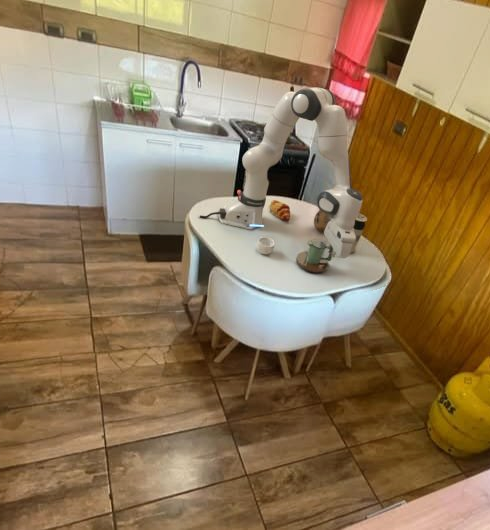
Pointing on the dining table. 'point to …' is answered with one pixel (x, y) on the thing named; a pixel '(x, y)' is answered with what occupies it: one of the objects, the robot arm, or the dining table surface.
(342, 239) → the robot arm
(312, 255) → the green mug on saucer
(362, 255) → the dining table surface
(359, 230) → the travel mug
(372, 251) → the dining table surface
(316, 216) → the ceramic vessel
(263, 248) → the teacup
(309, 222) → the dining table surface
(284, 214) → the croissant
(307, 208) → the dining table surface
